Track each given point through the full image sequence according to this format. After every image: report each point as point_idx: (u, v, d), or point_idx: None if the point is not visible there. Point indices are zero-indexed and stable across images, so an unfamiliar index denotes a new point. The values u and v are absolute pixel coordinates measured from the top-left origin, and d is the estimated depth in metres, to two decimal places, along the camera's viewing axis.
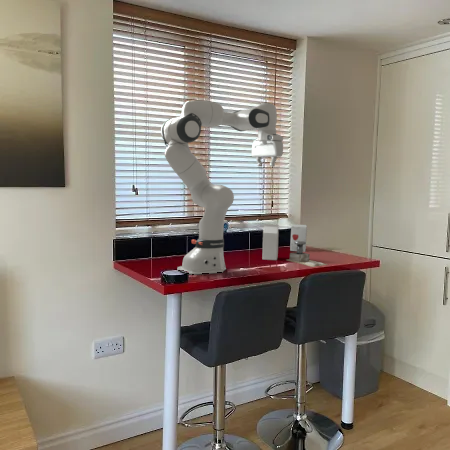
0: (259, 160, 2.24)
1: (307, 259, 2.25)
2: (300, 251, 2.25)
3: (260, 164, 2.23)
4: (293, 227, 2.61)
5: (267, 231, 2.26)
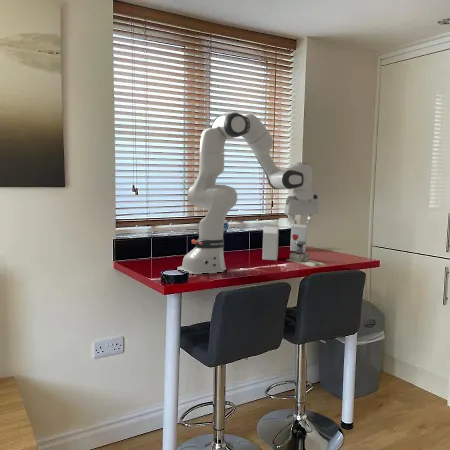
0: None
1: (307, 259, 2.25)
2: (300, 251, 2.25)
3: None
4: (293, 227, 2.61)
5: (267, 231, 2.26)
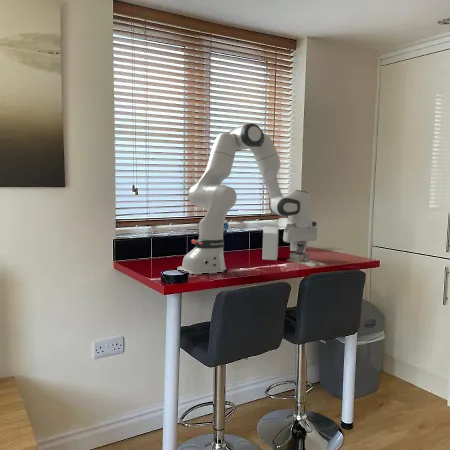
0: None
1: (307, 259, 2.25)
2: (300, 251, 2.25)
3: None
4: None
5: (267, 231, 2.26)
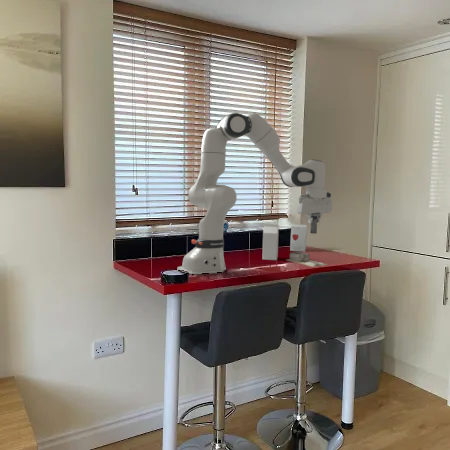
0: None
1: (307, 259, 2.25)
2: (314, 223, 2.16)
3: None
4: (293, 227, 2.61)
5: (267, 231, 2.26)
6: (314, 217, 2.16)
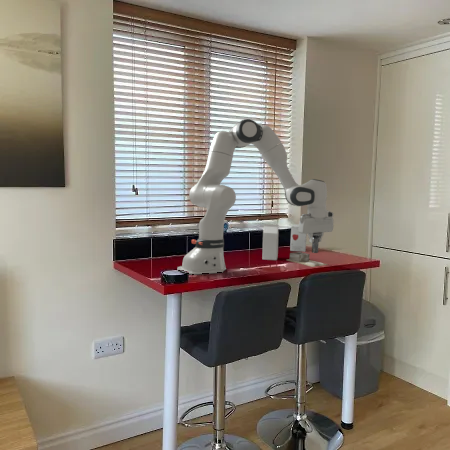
0: None
1: (307, 259, 2.25)
2: (316, 243, 2.16)
3: None
4: (293, 227, 2.61)
5: (267, 231, 2.26)
6: (315, 236, 2.15)
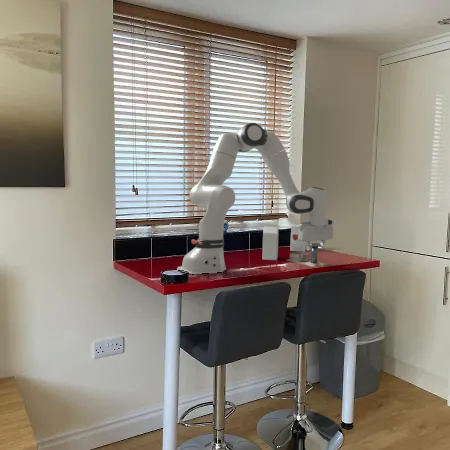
0: None
1: (307, 259, 2.25)
2: (315, 253, 2.16)
3: None
4: (293, 227, 2.61)
5: (267, 231, 2.26)
6: (315, 247, 2.16)
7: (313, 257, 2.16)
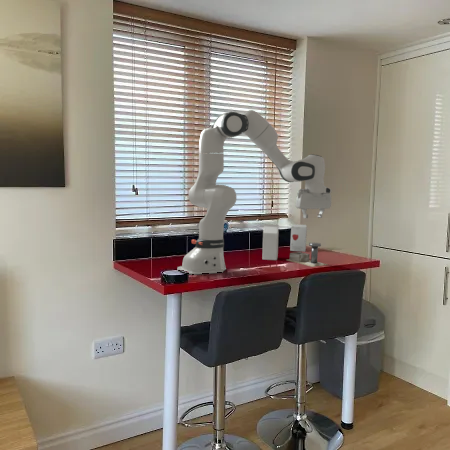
0: None
1: (307, 259, 2.25)
2: (315, 253, 2.16)
3: None
4: (293, 227, 2.61)
5: (267, 231, 2.26)
6: (315, 247, 2.16)
7: (313, 257, 2.16)
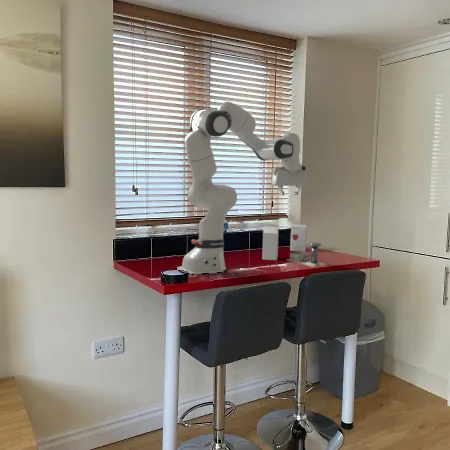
0: None
1: (307, 259, 2.25)
2: (315, 253, 2.16)
3: None
4: (293, 227, 2.61)
5: (267, 231, 2.26)
6: (315, 247, 2.16)
7: (313, 257, 2.16)
